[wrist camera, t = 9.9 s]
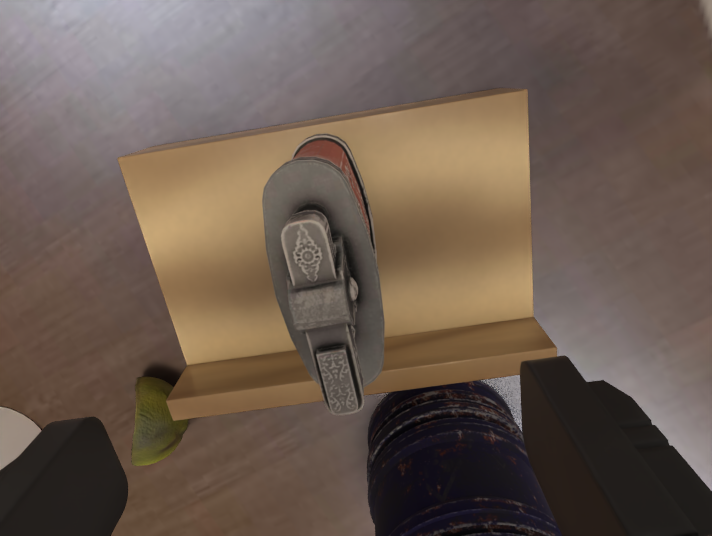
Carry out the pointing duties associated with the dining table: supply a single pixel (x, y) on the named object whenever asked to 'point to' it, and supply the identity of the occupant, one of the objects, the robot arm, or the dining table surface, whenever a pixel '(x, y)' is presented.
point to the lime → (154, 423)
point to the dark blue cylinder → (452, 466)
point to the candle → (14, 435)
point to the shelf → (392, 237)
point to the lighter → (326, 268)
